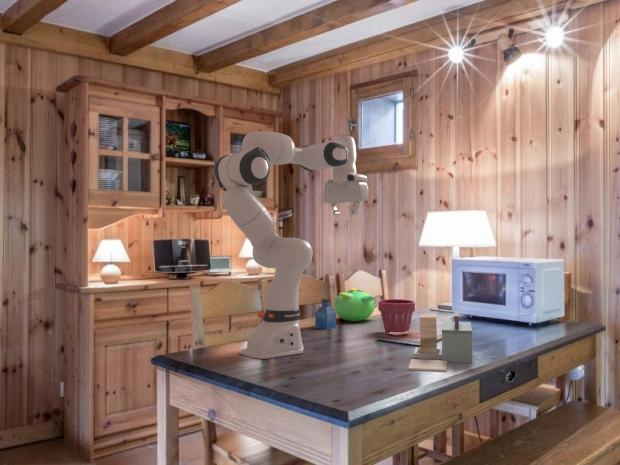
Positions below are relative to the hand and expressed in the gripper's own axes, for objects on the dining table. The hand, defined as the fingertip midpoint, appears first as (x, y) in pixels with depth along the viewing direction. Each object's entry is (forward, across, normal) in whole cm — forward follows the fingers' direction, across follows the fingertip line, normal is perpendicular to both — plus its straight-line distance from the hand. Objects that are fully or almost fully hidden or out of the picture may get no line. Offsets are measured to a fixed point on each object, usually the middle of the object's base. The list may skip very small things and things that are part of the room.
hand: (345, 214), depth 215 cm
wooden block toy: (+47, +44, -3) cm, 64 cm away
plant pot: (+47, +9, +19) cm, 52 cm away
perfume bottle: (+47, -21, +10) cm, 53 cm away
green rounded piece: (+47, -22, +30) cm, 60 cm away
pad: (+47, +48, -17) cm, 69 cm away
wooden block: (+47, +40, -5) cm, 62 cm away
